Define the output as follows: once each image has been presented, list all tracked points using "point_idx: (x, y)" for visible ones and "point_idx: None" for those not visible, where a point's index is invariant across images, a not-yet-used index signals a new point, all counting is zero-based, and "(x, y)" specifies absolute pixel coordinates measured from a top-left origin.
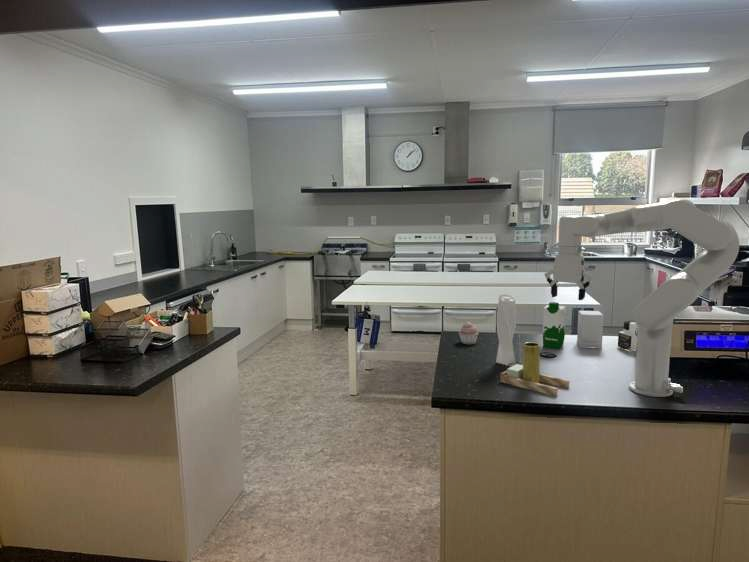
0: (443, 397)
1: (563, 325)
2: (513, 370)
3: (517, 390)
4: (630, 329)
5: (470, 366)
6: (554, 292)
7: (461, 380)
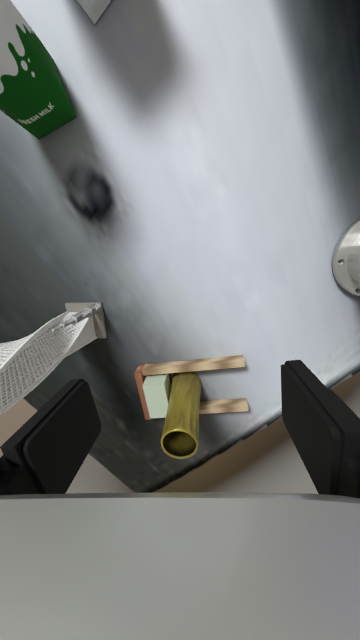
0: (142, 492)
1: (14, 25)
2: (162, 417)
3: None
4: None
5: (64, 382)
6: (82, 447)
7: (108, 438)
